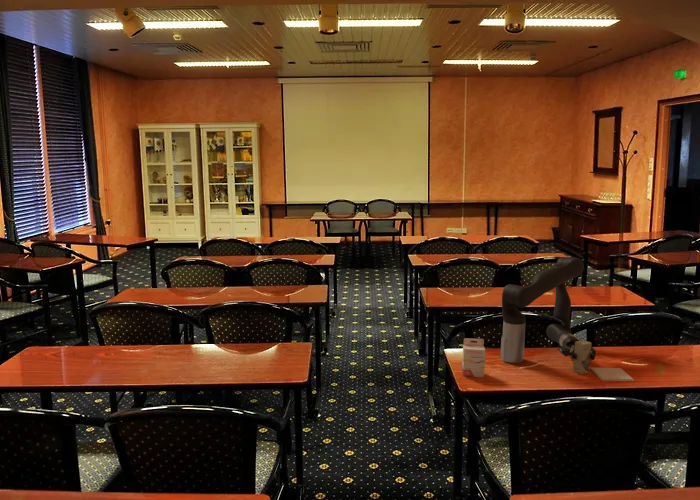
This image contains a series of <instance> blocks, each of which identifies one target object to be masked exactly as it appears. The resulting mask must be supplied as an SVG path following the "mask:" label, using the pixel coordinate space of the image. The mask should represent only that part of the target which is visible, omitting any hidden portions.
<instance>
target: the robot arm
mask: <svg viewBox="0 0 700 500" xmlns="http://www.w3.org/2000/svg"><path fill="white" fill-rule="evenodd" d="M584 269H585V264H584V261H583V260H582V259H581V258H579V257H575V256H574V257H573V256H561V257H559V258H557V261H556V265H555V267H551V268H547V269H544V270H541V271H540V272H538V273H537V274H535V275H534V276H533V277H532V279H531V284H530V285H527V286H523V285H517V284H512V283H508V284H507V285H505V286H504V288H503V290H502V294H501V310H502V311H501V314H502V318H503V319H502V321H503V324H502V335H501V336H500V337H501V338H500V339H501V341H500V358H501V360H502V362H504V363H505V362H506V363H510V364H511V363H512V364H519V363H522V362H524V359H525V341H526V340H525V339H526V338H525V337H526V335H525V334H526V315H525V314H524V313H522V312H521V311H520V310H519V309H523V308H526V307H528V306H529V305H531V304H532V303H533V302H534V301H536V300H537V299H538V298H539V297H542V296H543V295H545V294H546V293H548V292H551V291H552V290H554V289H555V302H554V308H553V315H552V317H553V318H554V319H555V320H558V321H559V322H561V324H555V323H551V324H549V325H548V326H547V328H546V335H547V337H548V339H550V340H551V341H553V342H555V343H557V344H559V353H560V354H561V355H562V356H564V357H568V356H569V358H571V359H573V361H574V360H576V359H577V355H576V354H575V353H574V351H575V342H576V341H581V340H580V339H578V338H577V336H575V335H574V334H573V333H572V329H571V323H570V320H571V319H570V315H571V307H572V301H571V300H572V299H571V297H570V296H569V292H568V290H567V287H566V282H567V281H569V280H572V279H574V278H577V277H579V276H581V274H583V272H584ZM518 308H519V309H518ZM596 354H597V351H596V349H595V348H594V347H593V346H591V358H590V361H594V360H595V358H596Z"/></svg>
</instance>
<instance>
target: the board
mask: <svg viewBox="0 0 700 500" xmlns="http://www.w3.org/2000/svg"><path fill="white" fill-rule="evenodd" d="M590 371H592V372H593V373H594V374H595V375H596V376H597V377H598V378H599V379H600V380H601V381H602V382H603V381H605V382H634V378H632V377H631V376H630V375H629V374H628V373H627V372H626V371H625V370H623V369H622V368H621V367H591V368H590Z"/></svg>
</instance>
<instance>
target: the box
mask: <svg viewBox="0 0 700 500" xmlns="http://www.w3.org/2000/svg"><path fill="white" fill-rule="evenodd" d="M591 347H592V342H591V341H587V340H584V339H581V340H580V341H576V342H575V351H574V353H575V354H576V355H577V359H576V360H574V359H573V367H572V372H574V373H577V374H579V375H585V374H588V373H590V371H591V368H590V367H591V359H590V358H591Z"/></svg>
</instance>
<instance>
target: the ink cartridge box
mask: <svg viewBox="0 0 700 500" xmlns="http://www.w3.org/2000/svg"><path fill="white" fill-rule="evenodd" d="M484 342H485V340H484V338H471V337H470V338H468V337H467V338H466V337H465V338H463V345H462V364H461V373H462V376H463V377H475V378H476V377H478V378H484V377H485V365H486V347H485V346H484V344H485V343H484Z"/></svg>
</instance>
